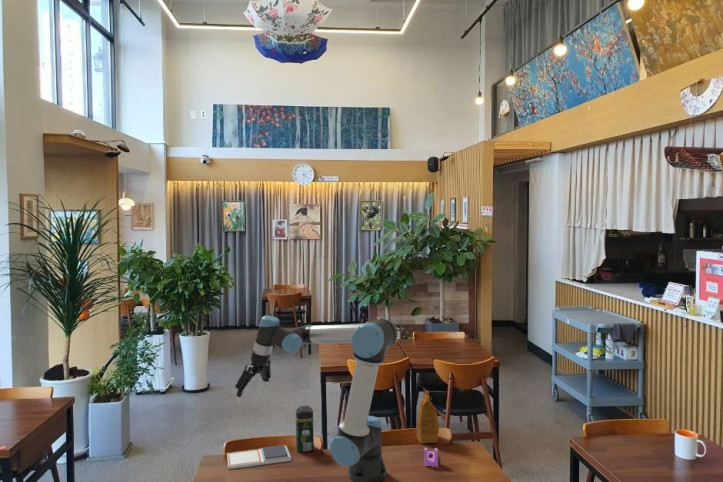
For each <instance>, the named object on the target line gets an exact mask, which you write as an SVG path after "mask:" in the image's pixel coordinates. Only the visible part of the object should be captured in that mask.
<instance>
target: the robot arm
mask: <svg viewBox="0 0 723 482" xmlns="http://www.w3.org/2000/svg"><path fill="white" fill-rule="evenodd" d="M398 334H399V333H398V329H397V326H396V325H395V324H394V323H393V322H392V321H391V320H389V319H387V318H379V319H375V320H368V321H366V322H365V323H349V324H347V323H346V324H326V325H325V324H324V325H323V324H322V325H321V324H319V325H312V324H305V325H303V326H299V327H296V328H295V327H294V328H291V329H286V328H284V327H282V326H280V319H279V318H278V317H276V316H273V315H268V314H267V315H264V316H262V317H261V320H260V321H259V325H258V330H257V334H256V337H255V341H254V345H253V349H252V352H251V355H250V360H251V363H250V365H248V364H246V365H245V367H244V369H243V371H242V373H241V375H240V377H239V378H238V381H237V382H236V384H235V386H234V388H235V389H237V392H236V397H235V401H234V402H235V403H237V404H238V405H240V406H241V405H242V403H243V398H244V395H245V391H246V390H245V388H247V386H248V384H249V383H250V381H251V380H252V378H253V377H256V375H257V374H260V377H261V378H260V380H259V382H258V386H257V390H256V394H257V395H259V396H261V397H262V396H263V394H264V391H265V388H266V387H265V386H266V383H268V382H269V381H270V379H271V378H272V377H271V376H272V375H271V374H272V373H271V360H270V357H271V353H272V350H273V347H274V346H276V347H279V348H280V349H282V350H283V351H284V352H287V353H290V354H296V353H297V352H298V351H299V350H301V347H302V345H303V346H304V345H314V344H318V345H319V344H320V345H321V344H350V345H351V347H352V350H353V354H352V356H353V358H354V359H355V365H354V370H353V375H352V380H351V384H350V390H349V394H348V399H347V400H348V401H347V404H346V409H345V414H344V419H343V420H342V421H340V422H339V424H338V430H337V434H336V436H335V437H333V438H332V440H331V442H330V445H329V450H330V454H331V456H332V457H333V460H334V461H335V462H336V463H337V464H338V465H340V466H342V467H346V468H348V478H349V479H350V480H351V481H353V482H381V481H384V480H385V479H386V477H387V467H386V464H385V461H384V458H383V447H382V445H383V444H382V443H383V440H382V439H383V438H382V436H383V435H382V434H383V432H382V431H383V426H382V421H381V419H380V418H379V417H377V416H374V415H370V410H371V404H372V400H373V396H374V391H375V385H376V382H377V381H376V380H377V377H378V376H377V375H378V372H379V371H378V370H379V367H380V366H381V364H383V363H384V362H385V357H386V353H387V350H389V349H391V348H392V347H393V346H395V343H396V342H397V339H398V336H399V335H398ZM273 345H274V346H273Z"/></svg>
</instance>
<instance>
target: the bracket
mask: <svg viewBox="0 0 723 482" xmlns="http://www.w3.org/2000/svg"><path fill="white" fill-rule="evenodd" d="M428 449H429V448H427V447H424V449H423V450H424V452H423V455H424V456H423V457H424V460H423V461H424V462H423V463H424V467H425V466H432V467H431V468H438V467H439V449H438V448H436V447H435V448H434V449H433V450H434V451H433V450H429V451H428ZM429 455H433V456H432V457H431V458H430V456H429ZM434 466H435V467H434Z"/></svg>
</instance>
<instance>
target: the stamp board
mask: <svg viewBox="0 0 723 482" xmlns="http://www.w3.org/2000/svg"><path fill="white" fill-rule="evenodd" d="M285 446H286V448H287V451H288V453H289V456H290V458H284V459H277V460H269V461H264V460H263V456H262V452H261V448H256V449H248V450H242V451H233V452H227V453H226V458H227V469H228V470H234V469H243V468H248V467H256V466H263V465H271V464H272V465H273V464H278V463H285V462H291V461H292V457H291V454H290V452H289V448H288V447H287V445H285Z"/></svg>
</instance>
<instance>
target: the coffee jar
mask: <svg viewBox="0 0 723 482" xmlns="http://www.w3.org/2000/svg"><path fill="white" fill-rule="evenodd" d="M295 437H296V438H295V442H296V443H295V444H296V450H297V451H298V452H299V453H309V452H311V451H312V452H313V450H314V449H315V447H314V446H315V445H314V440H315V439H314V410H313V408H312V407H310V406H309V405H300V406H299V407H297V409H296V410H295Z"/></svg>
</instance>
